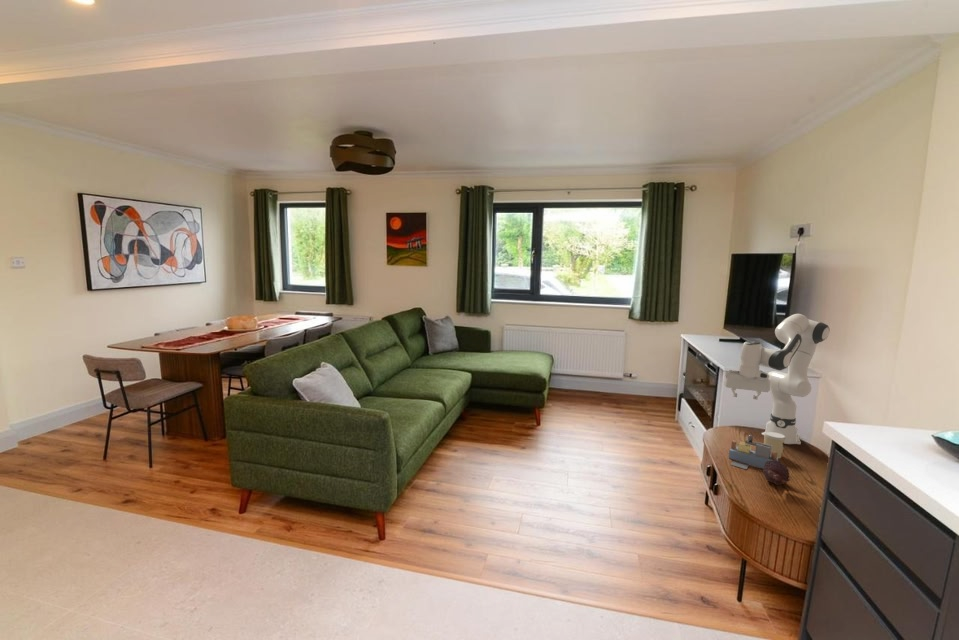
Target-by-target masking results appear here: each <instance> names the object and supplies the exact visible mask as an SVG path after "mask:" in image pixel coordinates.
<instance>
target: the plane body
mask: <svg viewBox="0 0 959 640" xmlns="http://www.w3.org/2000/svg"><path fill="white" fill-rule="evenodd" d="M756 443H759V444H763V445H764V446H762V445H758V444H756V446H755V450H752V449H751V452H750V453H749V454H746V453H743V452H739V451H738V446H737V440H734V439H732V441H731V446H730V449H729V451H728V452H729V453H728V459H730V460H732V461H736V462H739V463H743V464H746V465H749V466H752V467H755V468H758V469H762V470H763V468H764V465H765V463H766V462H767V461H773V460H774V461H775V460H776V461H778V462H779V458H778V457H777V454H778V453H777V452H775V451H772V454H771V447H772V446H771V445H767V444H764V442H763V443H762V442H756Z"/></svg>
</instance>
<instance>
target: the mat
mask: <svg viewBox="0 0 959 640" xmlns="http://www.w3.org/2000/svg"><path fill="white" fill-rule="evenodd" d="M730 466H732V467H735V468H739V469H741V470H748V469H749V467H750V465H748V464H745V463H742V462H739V461H736V460H732V462H731V463H730Z"/></svg>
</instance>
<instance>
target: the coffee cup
mask: <svg viewBox="0 0 959 640" xmlns="http://www.w3.org/2000/svg"><path fill="white" fill-rule="evenodd" d="M764 432H765V431H764ZM763 436H764V437H763V438H764V439H763V444H767V445H771V446H772V447H771V454H772V451H775V452H777V453H778V454H777V457H778V459H782V456H783V450H784V447H785V444H784V442H785V436H784V435H782V434H780V433H776V432H765V433H764V435H763Z"/></svg>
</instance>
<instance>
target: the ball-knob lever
mask: <svg viewBox="0 0 959 640" xmlns="http://www.w3.org/2000/svg"><path fill="white" fill-rule="evenodd" d="M753 438H754V436H753V435H752V434H748V435H747V439H746V440H745V441H744V442H745V443H746V444H750V445H752V446H753V447H756V444H758V445H762V446H764V445H763V444H764V443H763V444H759V443H760V442H759V443H757V442H755V441H753Z"/></svg>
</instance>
